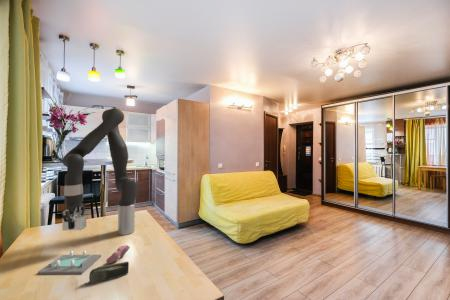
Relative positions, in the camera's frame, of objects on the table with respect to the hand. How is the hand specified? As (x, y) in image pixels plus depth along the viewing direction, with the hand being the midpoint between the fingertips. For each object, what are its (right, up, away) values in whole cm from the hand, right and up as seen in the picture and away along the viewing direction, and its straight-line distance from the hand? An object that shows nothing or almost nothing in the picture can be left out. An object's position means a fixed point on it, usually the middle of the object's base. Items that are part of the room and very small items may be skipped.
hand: (74, 226), depth 101 cm
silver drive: (0, -1, 0) cm, 1 cm away
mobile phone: (+29, -13, -21) cm, 38 cm away
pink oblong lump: (+26, -13, -7) cm, 30 cm away
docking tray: (+8, -12, -12) cm, 19 cm away
